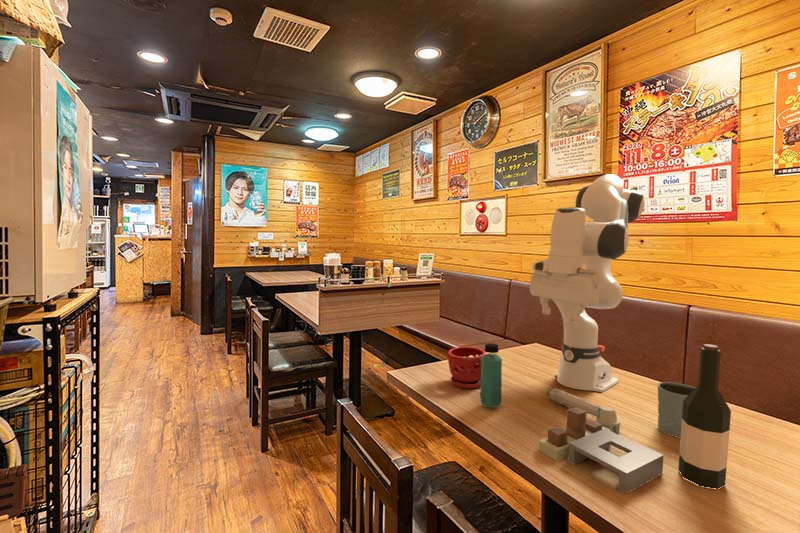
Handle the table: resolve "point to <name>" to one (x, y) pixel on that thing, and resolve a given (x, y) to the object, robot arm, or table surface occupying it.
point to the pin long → (576, 423)
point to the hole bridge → (630, 466)
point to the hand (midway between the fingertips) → (560, 317)
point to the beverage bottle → (491, 377)
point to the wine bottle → (705, 426)
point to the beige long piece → (587, 408)
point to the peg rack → (561, 451)
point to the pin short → (593, 426)
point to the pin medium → (557, 436)
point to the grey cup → (671, 406)
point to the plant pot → (465, 366)
